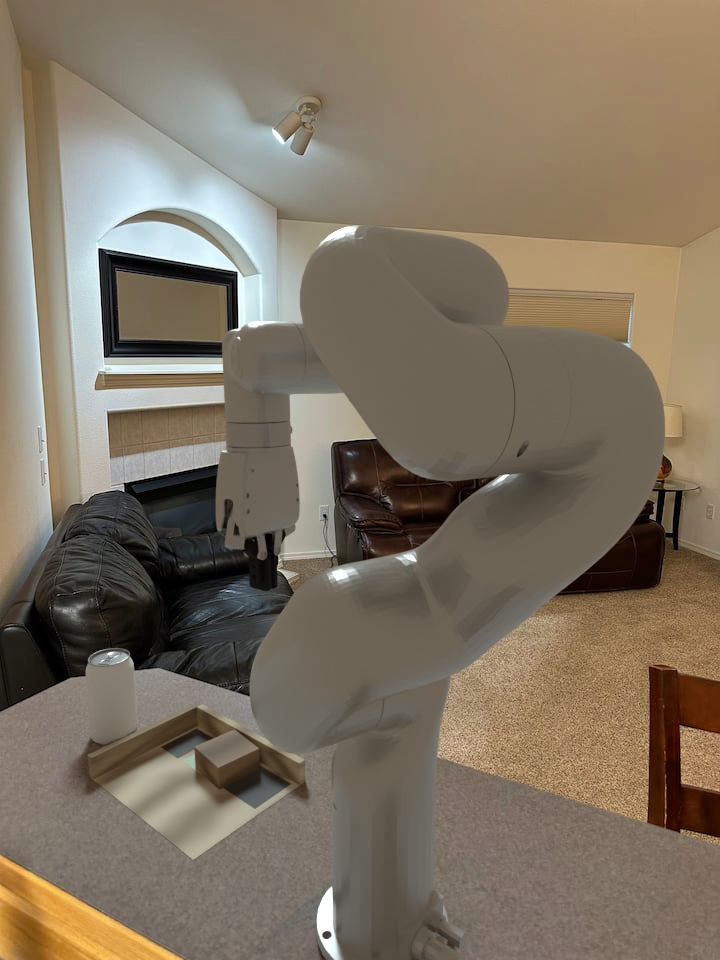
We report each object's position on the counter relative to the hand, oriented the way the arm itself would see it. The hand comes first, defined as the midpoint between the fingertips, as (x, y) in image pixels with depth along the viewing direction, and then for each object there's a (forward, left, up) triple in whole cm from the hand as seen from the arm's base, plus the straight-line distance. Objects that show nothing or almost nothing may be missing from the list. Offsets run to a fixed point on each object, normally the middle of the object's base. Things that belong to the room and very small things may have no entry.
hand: (263, 587), depth 78 cm
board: (+6, +6, -26) cm, 28 cm away
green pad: (+7, +2, -26) cm, 27 cm away
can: (+25, +7, -27) cm, 37 cm away
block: (+5, +2, -25) cm, 26 cm away
